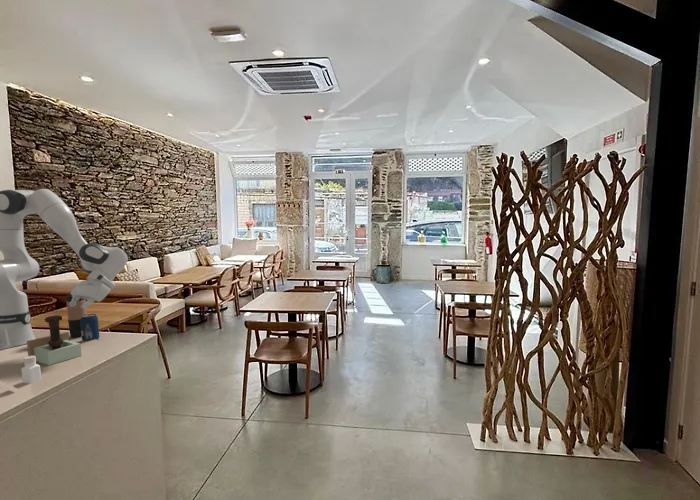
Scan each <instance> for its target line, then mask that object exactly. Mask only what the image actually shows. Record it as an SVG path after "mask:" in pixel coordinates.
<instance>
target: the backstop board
mask: <svg viewBox="0 0 700 500" xmlns="http://www.w3.org/2000/svg"><path fill="white" fill-rule="evenodd" d="M60 339H62V340H69V341H70V331H63V332H60ZM50 340H51V337H50V335H45V336H41V337H39V338H36V339H34V340H29V341H27V344H26V347H27V357H28V356H34V348H36V347H40V346H44V345H48V344H49V343H48V342H49V341H50Z"/></svg>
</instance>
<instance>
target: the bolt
mask: <svg viewBox="0 0 700 500" xmlns="http://www.w3.org/2000/svg"><path fill="white" fill-rule="evenodd" d="M62 320H63V316H62V315H58V314H57V315H51V316H46V317H45V318H44V322H45V323H48V327H49V336H50V337H51V340H50V341H49V342H48V343H49V346H52V348H51V349H52V350H55V349H59V348H61V345H62V344H63V340H62V339H60V333H61V332H60V330H61V329H60V321H62Z"/></svg>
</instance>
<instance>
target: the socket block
mask: <svg viewBox="0 0 700 500" xmlns="http://www.w3.org/2000/svg"><path fill="white" fill-rule="evenodd" d="M51 348H52V346H49V344H48V345H44V346H40V347H36V348H34V356H36V362H39V363H41V364H43V365H48V366H50V365H51V366H52V365H54V364H58V363H61V362H64V361H68V360H72V359H75V358H78V357H81V356H82V347H81V343H79V342H76V341H72V340H70V339H69V340H63V344H62V345H61V348H59V349H55V350H52V349H51Z"/></svg>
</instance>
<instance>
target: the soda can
mask: <svg viewBox="0 0 700 500" xmlns="http://www.w3.org/2000/svg"><path fill="white" fill-rule="evenodd" d="M80 324H81V336H82V337H81V340H82V342H85V341H86V342H88V341H94V340H97V341H98V340H99V339H100V328H99V325H100V324H99V317H98V316H97V314H96V313H87V315H83V316H81V320H80Z"/></svg>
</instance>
